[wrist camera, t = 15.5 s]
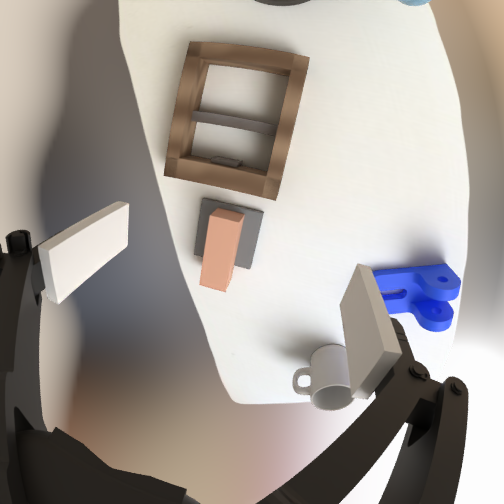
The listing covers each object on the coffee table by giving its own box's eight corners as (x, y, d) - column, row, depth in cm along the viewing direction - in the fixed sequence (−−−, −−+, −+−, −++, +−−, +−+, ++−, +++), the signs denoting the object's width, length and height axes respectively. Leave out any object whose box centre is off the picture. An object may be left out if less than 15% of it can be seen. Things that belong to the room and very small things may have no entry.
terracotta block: (218, 207, 45) (209, 215, 41) (244, 214, 45) (239, 222, 41) (207, 272, 50) (199, 284, 46) (231, 279, 50) (225, 292, 46)
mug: (351, 342, 53) (358, 382, 43) (349, 370, 56) (353, 409, 46) (292, 345, 55) (289, 386, 45) (294, 373, 58) (292, 413, 48)
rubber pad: (204, 197, 46) (202, 199, 45) (263, 212, 45) (263, 213, 44) (196, 252, 50) (194, 254, 49) (250, 266, 50) (249, 269, 49)
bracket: (445, 263, 44) (467, 287, 35) (439, 301, 47) (456, 328, 38) (356, 271, 47) (367, 299, 39) (355, 310, 50) (362, 342, 42)
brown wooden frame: (200, 49, 36) (190, 41, 32) (308, 65, 35) (309, 57, 31) (176, 171, 45) (163, 175, 40) (278, 193, 44) (275, 200, 39)
